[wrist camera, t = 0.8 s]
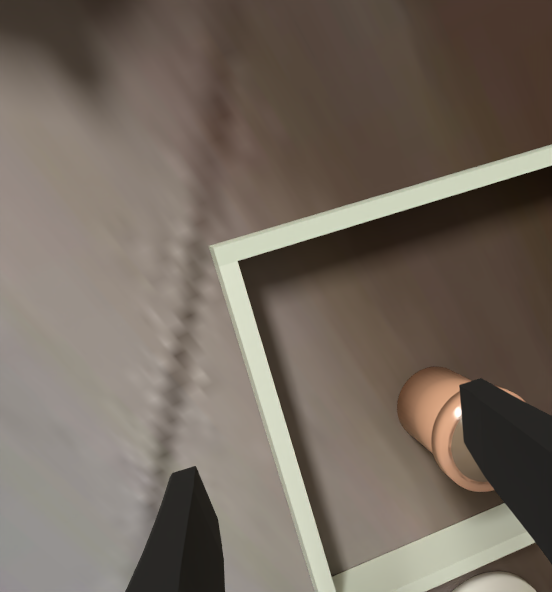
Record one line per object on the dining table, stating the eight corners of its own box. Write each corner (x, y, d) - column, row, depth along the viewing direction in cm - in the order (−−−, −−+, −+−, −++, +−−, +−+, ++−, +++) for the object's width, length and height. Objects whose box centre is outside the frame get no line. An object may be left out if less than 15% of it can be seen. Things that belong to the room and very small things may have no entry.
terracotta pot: (479, 427, 34) (545, 469, 28) (402, 458, 33) (454, 508, 27) (462, 348, 33) (526, 374, 27) (382, 377, 32) (431, 411, 26)
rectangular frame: (618, 467, 36) (657, 487, 34) (316, 597, 33) (331, 633, 30) (565, 140, 32) (604, 131, 29) (208, 246, 28) (213, 247, 25)
